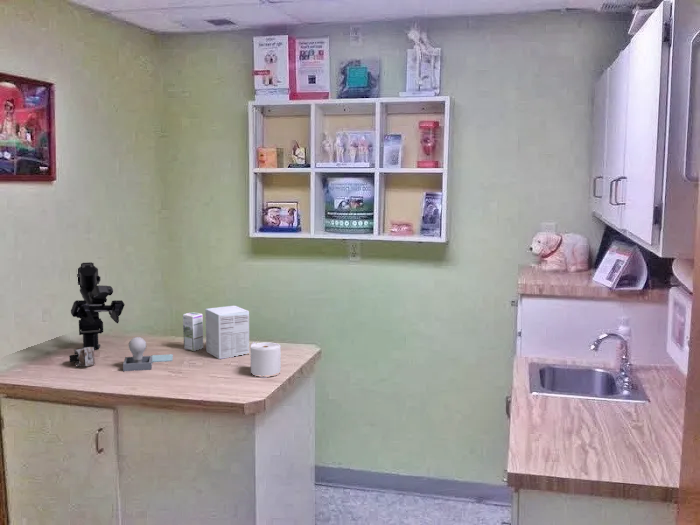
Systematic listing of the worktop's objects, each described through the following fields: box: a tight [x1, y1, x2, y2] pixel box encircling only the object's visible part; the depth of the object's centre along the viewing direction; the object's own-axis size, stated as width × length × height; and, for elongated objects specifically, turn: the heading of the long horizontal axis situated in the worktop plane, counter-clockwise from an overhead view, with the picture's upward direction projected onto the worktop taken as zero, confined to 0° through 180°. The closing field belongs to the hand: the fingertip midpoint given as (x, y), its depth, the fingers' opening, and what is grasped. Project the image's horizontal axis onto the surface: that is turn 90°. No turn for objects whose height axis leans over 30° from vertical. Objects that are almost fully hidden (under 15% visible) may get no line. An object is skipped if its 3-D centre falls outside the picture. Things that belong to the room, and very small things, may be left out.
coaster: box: [150, 353, 174, 363], centre depth 257 cm, size 8×8×1 cm
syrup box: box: [182, 311, 204, 352], centre depth 271 cm, size 6×6×14 cm
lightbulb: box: [128, 336, 147, 363], centre depth 246 cm, size 6×6×11 cm
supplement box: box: [205, 305, 250, 360], centre depth 265 cm, size 13×13×18 cm
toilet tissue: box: [249, 341, 282, 376], centre depth 240 cm, size 11×12×10 cm
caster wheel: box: [68, 347, 96, 367], centre depth 249 cm, size 7×11×10 cm
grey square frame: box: [122, 355, 153, 372], centre depth 247 cm, size 10×10×2 cm
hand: (106, 322), depth 247 cm, fingers open, 9 cm apart
